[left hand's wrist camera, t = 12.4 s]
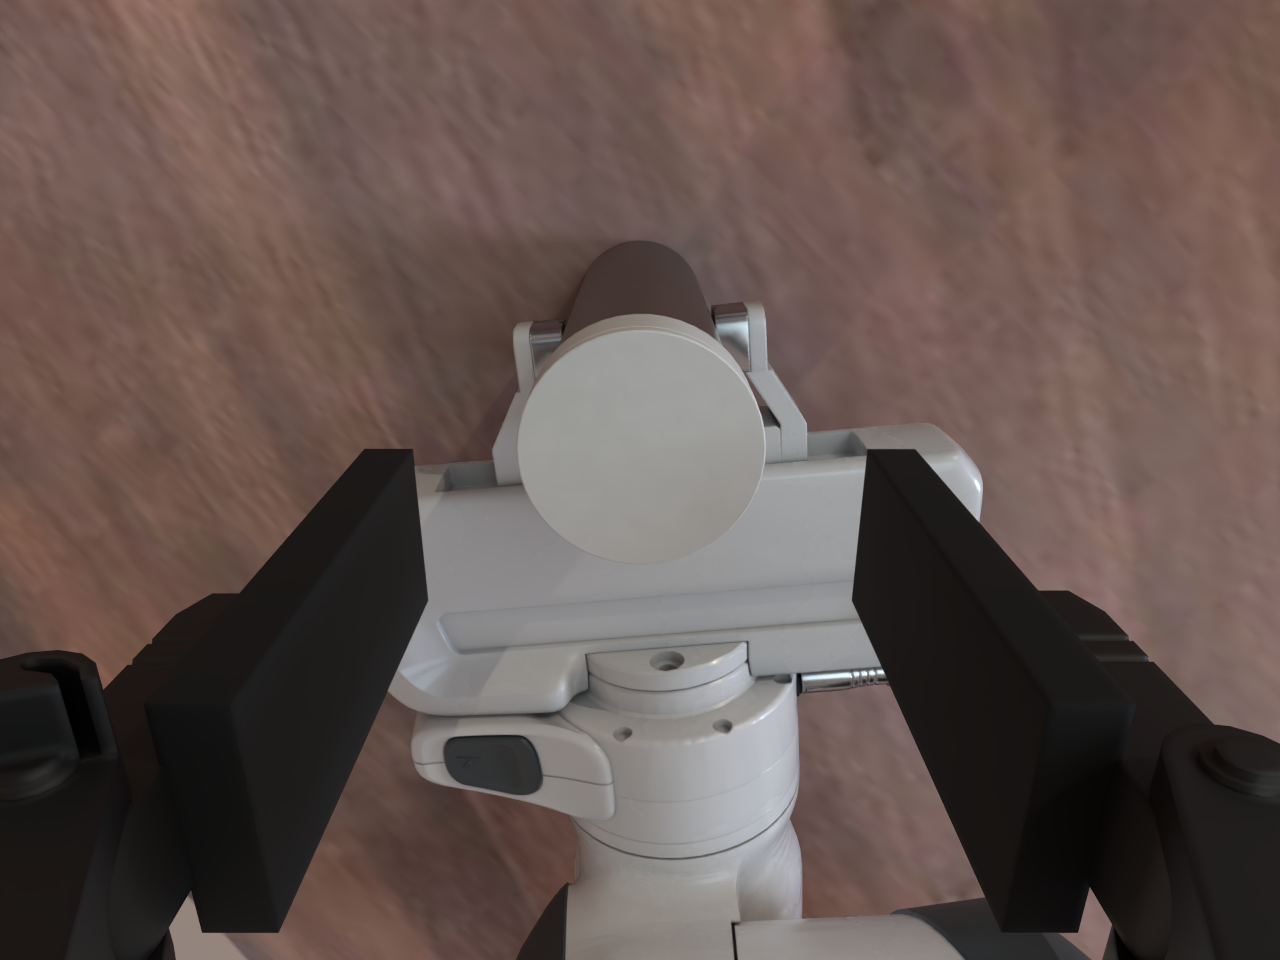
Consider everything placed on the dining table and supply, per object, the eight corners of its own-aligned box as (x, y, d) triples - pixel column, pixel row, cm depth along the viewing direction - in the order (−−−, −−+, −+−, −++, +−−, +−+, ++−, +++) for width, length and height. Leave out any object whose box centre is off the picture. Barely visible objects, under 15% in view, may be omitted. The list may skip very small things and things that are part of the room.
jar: (715, 341, 33) (778, 510, 18) (602, 377, 33) (574, 572, 19) (679, 223, 31) (716, 305, 17) (561, 263, 32) (496, 378, 17)
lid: (781, 495, 19) (793, 525, 18) (572, 557, 20) (566, 593, 18) (718, 280, 18) (726, 294, 16) (490, 356, 18) (477, 377, 17)
